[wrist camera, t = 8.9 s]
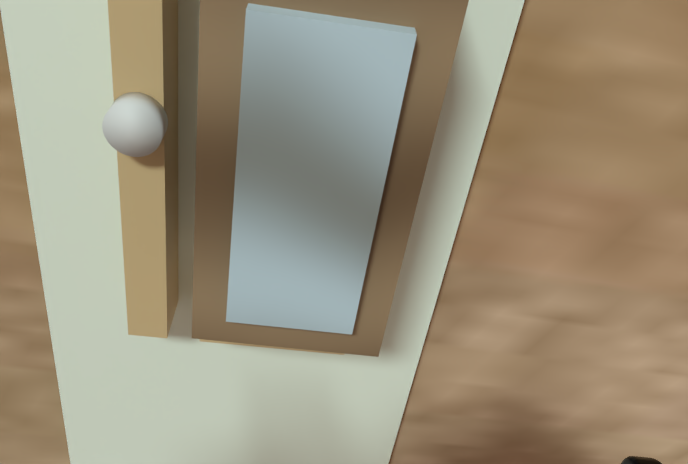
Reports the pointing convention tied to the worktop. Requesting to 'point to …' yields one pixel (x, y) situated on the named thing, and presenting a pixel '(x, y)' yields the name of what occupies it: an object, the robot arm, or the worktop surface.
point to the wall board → (178, 246)
